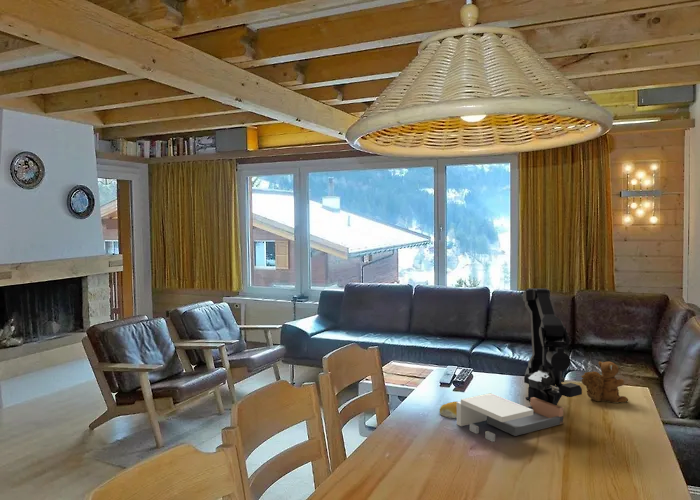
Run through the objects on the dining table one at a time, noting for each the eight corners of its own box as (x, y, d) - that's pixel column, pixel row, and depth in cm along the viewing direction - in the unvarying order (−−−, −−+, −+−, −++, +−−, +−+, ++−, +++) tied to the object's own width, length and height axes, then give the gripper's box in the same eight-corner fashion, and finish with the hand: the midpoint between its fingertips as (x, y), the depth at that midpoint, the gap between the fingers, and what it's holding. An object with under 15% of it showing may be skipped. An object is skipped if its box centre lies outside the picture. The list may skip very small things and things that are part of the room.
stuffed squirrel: (630, 402, 199) (631, 365, 198) (593, 405, 197) (593, 367, 196) (613, 393, 209) (613, 358, 208) (577, 396, 207) (577, 359, 206)
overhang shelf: (486, 417, 186) (486, 391, 185) (533, 438, 168) (533, 409, 168) (456, 424, 180) (456, 397, 180) (502, 446, 163) (502, 417, 162)
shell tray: (533, 412, 189) (533, 397, 189) (563, 423, 179) (563, 407, 178) (486, 423, 180) (486, 407, 179) (514, 436, 169) (515, 419, 169)
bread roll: (471, 413, 190) (471, 401, 190) (456, 420, 184) (456, 408, 184) (450, 407, 196) (450, 396, 196) (435, 414, 190) (435, 402, 189)
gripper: (511, 359, 188) (511, 406, 189) (557, 372, 171) (557, 424, 172) (536, 354, 193) (536, 400, 194) (583, 367, 177) (582, 417, 178)
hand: (551, 410), depth 184 cm, fingers closed
